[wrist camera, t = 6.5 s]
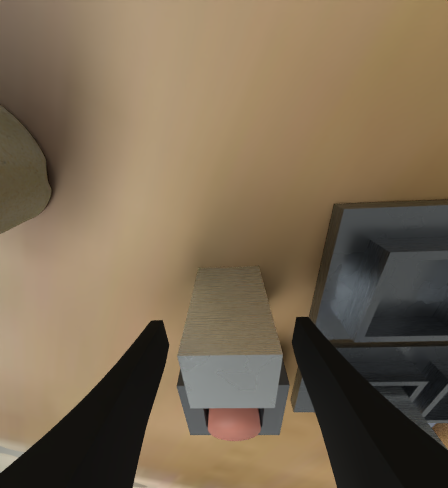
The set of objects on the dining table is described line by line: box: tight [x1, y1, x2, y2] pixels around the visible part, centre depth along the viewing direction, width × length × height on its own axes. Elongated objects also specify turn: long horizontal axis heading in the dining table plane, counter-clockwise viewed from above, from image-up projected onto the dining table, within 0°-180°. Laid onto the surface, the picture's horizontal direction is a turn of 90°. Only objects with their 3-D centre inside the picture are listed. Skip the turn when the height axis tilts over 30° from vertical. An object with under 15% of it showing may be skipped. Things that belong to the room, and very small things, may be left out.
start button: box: [208, 408, 261, 441], centre depth 15 cm, size 4×4×2 cm
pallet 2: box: [291, 339, 448, 423], centre depth 16 cm, size 10×18×2 cm, turn 92°
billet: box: [177, 266, 283, 408], centre depth 11 cm, size 4×4×6 cm
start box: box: [177, 359, 289, 435], centre depth 16 cm, size 8×8×3 cm
